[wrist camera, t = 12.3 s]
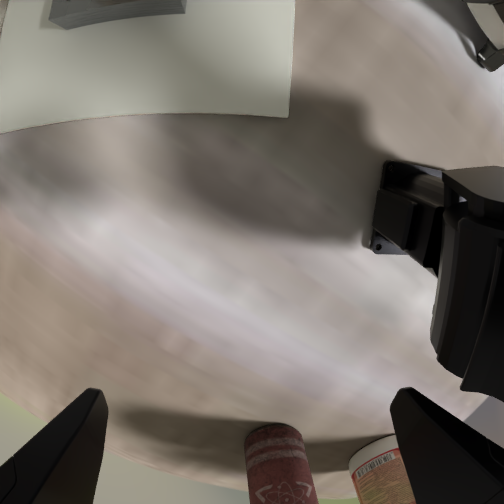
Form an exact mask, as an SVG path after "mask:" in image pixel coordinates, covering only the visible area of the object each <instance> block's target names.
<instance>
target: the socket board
mask: <svg viewBox="0 0 504 504" xmlns="http://www.w3.org/2000/svg"><path fill="white" fill-rule="evenodd" d="M52 1H53V0H9V3H8V7H7V11H6V15H5V19H4V23H3V27H2V32H1V37H0V134H3V133H7V132H12V131H17V130H22V129H27V128H32V127H38V126H43V125H49V124H56V123H62V122H69V121H77V120H85V119H94V118H104V117H116V116H130V115H148V114H233V115H252V116H266V117H278V118H288V116H289V102H290V87H291V71H292V54H293V36H294V16H295V0H187V4H186V12H185V14H170V15H156V16H145V17H136V18H128V19H121V20H114V21H108V22H102V23H97V24H92V25H87V26H82V27H78V28H73V29H69V30H66V29H64V28H62V27H60V26H58V25H56V24H54V23H52V22H51V21H49V20H48V19H49V15H50V10H51V6H52Z"/></svg>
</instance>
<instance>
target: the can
mask: <svg viewBox="0 0 504 504" xmlns="http://www.w3.org/2000/svg"><path fill="white" fill-rule="evenodd" d="M244 449H245V459H246V469H247V479H248V488H249V498H250V504H318V499H317V495H316V491H315V487H314V483H313V479H312V475H311V471H310V467H309V463H308V459H307V455H306V451H305V447H304V443H303V439H302V435H301V434H300V433H299V431H297V430H296V429H295V428H293V427H291V426H287V425H269V426H264V427H261V428H258V429H257V430H255V431H253V432H252V433H251V434H250V435H249V436H248V437H247V439H246V440H245V443H244Z"/></svg>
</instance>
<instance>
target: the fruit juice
mask: <svg viewBox="0 0 504 504" xmlns="http://www.w3.org/2000/svg"><path fill="white" fill-rule="evenodd" d="M349 472H350V475H351V478H352V481H353V484H354V487H355V490H356V493H357V496H358V498H359V502H360V504H416V502H415V498H414V495H413V492H412V488H411V485H410V482H409V479H408V475H407V472H406V469H405V466H404V463H403V460H402V457H401V454H400V451H399V447H398V443H397V439H396V435H392V436H388V437H385V438H382V439H379V440H377V441H375V442H373V443H371V444H369V445H367V446H365V447H364V448H362V449H361V450H359V451H358V452H357V453H356V454H355V455H354V456H353V457H352V458H351V459H350V461H349Z"/></svg>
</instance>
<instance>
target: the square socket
mask: <svg viewBox="0 0 504 504" xmlns="http://www.w3.org/2000/svg"><path fill="white" fill-rule="evenodd" d="M186 4H187V0H53V1H52V6H51V10H50V15H49V19H48V20H49V21H51V22H52V23H54V24H56V25H58V26H60V27H62V28H64V29H66V30H69V29H73V28H78V27H82V26H87V25H92V24H97V23H102V22H108V21H114V20H121V19H128V18H136V17H145V16H156V15H170V14H185V12H186Z"/></svg>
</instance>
